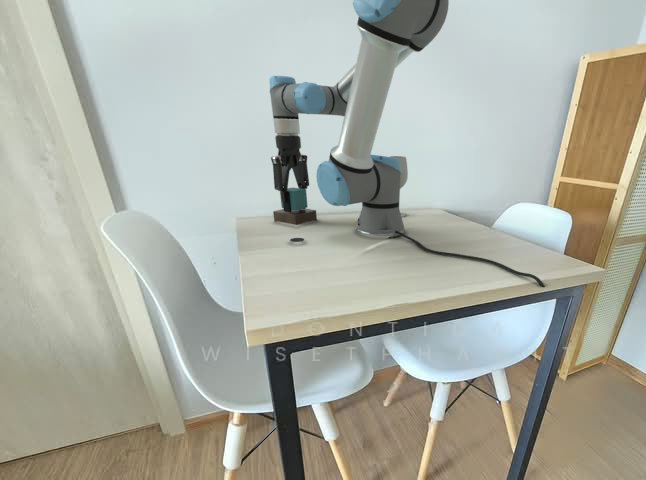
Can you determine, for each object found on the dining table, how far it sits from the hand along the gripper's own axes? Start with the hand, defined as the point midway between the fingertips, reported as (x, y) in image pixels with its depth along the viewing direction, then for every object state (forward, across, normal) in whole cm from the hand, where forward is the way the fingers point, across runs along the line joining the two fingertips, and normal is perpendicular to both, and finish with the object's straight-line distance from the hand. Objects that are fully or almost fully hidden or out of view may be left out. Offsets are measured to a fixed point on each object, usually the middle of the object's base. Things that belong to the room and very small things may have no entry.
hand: (294, 209), depth 121 cm
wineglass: (+5, -31, +22) cm, 38 cm away
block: (-1, 0, 0) cm, 1 cm away
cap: (+4, +17, +17) cm, 24 cm away
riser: (+4, 0, 0) cm, 4 cm away
